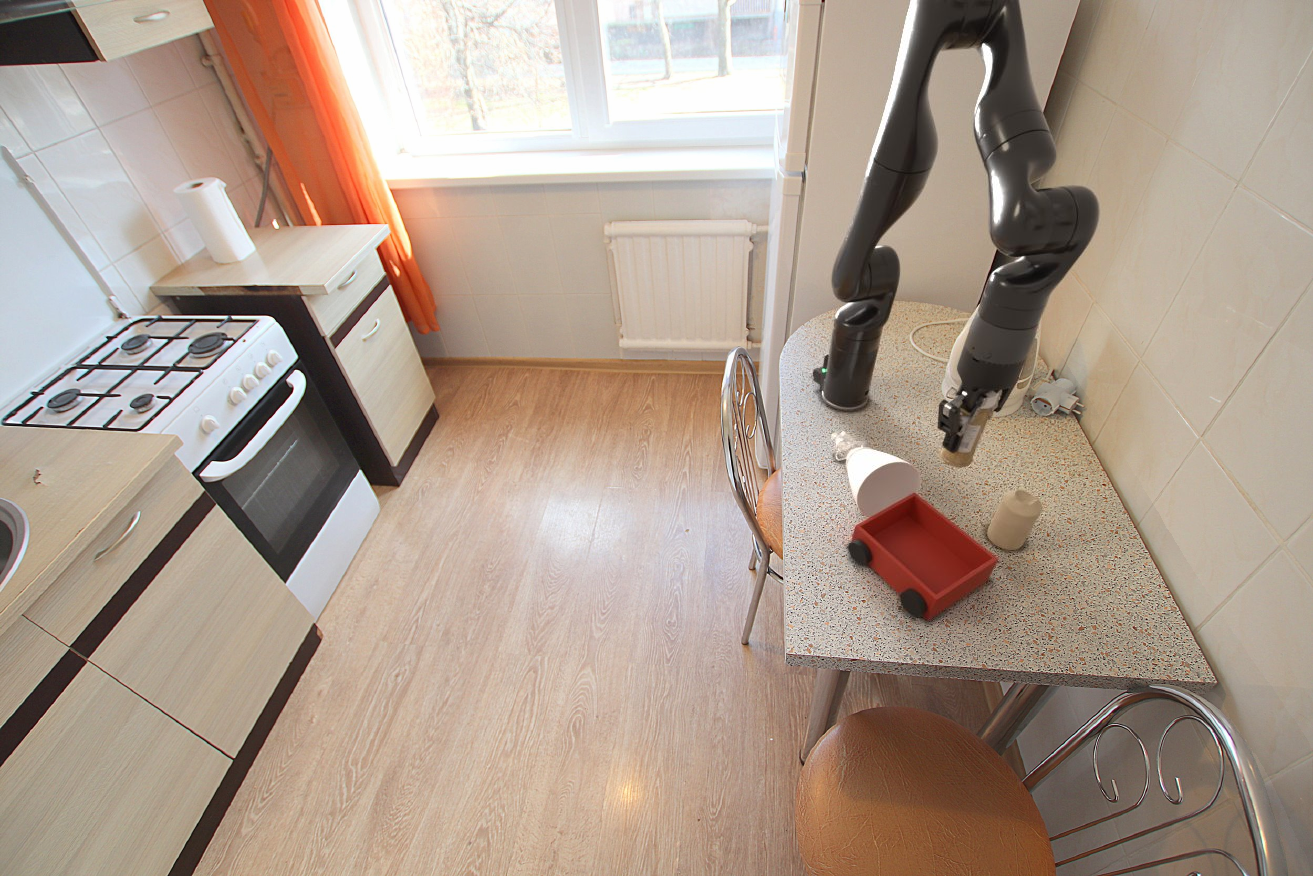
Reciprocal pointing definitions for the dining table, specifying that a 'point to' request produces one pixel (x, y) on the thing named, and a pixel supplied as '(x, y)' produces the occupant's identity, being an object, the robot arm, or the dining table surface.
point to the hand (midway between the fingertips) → (960, 442)
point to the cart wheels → (908, 598)
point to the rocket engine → (876, 475)
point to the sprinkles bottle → (970, 436)
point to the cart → (924, 553)
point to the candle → (1014, 519)
